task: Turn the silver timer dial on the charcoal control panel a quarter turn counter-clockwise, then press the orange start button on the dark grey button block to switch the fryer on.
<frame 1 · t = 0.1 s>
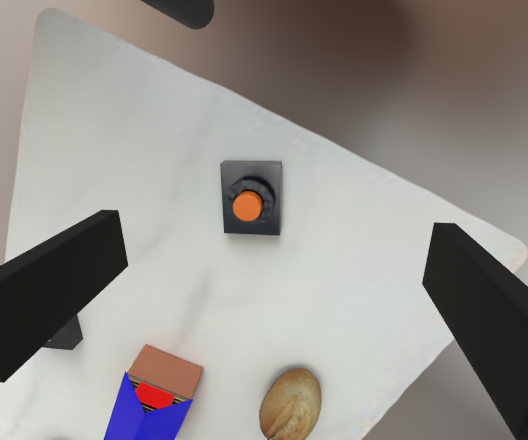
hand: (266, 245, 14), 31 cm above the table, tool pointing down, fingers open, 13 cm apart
timer panel: (56, 310, 58), on the table
bread roll: (289, 391, 58), on the table
house: (161, 389, 63), on the table
start button: (247, 206, 41), point 4 cm above the table, slide at 0.1 cm
button block: (253, 196, 46), on the table
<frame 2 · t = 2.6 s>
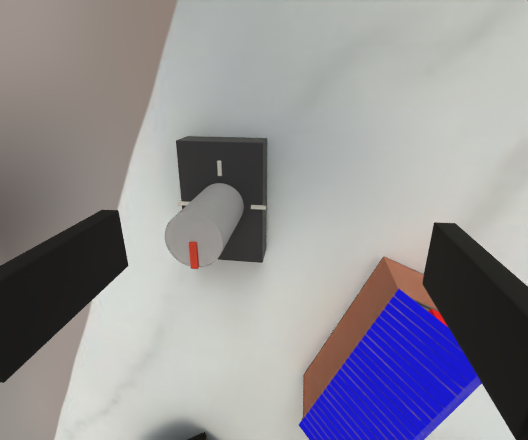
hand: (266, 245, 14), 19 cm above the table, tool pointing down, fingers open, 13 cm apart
timer panel: (228, 195, 34), on the table
house: (382, 339, 38), on the table
timer dial: (208, 221, 27), point 7 cm above the table, hinge at 0.0°
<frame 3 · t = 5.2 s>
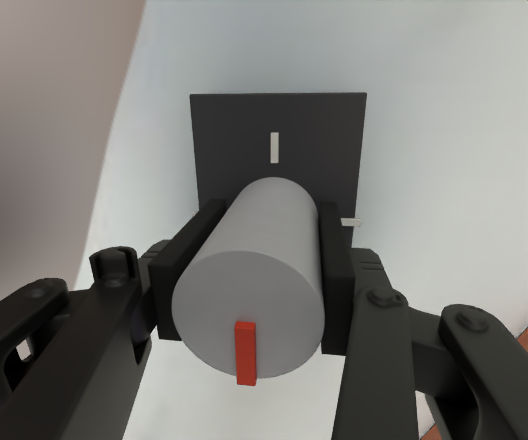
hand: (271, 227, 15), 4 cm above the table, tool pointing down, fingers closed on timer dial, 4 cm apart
timer panel: (279, 201, 19), on the table
house: (524, 430, 23), on the table
timer dial: (263, 256, 13), point 7 cm above the table, hinge at 0.0°, touching gripper
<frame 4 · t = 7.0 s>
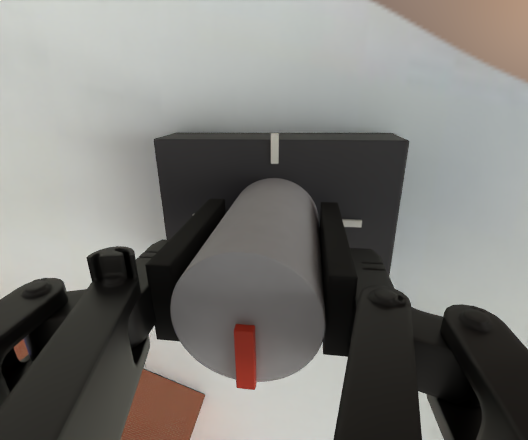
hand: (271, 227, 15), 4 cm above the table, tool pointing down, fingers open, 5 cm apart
timer panel: (279, 201, 19), on the table
house: (84, 391, 28), on the table
timer dial: (263, 258, 12), point 7 cm above the table, hinge at 89.9°
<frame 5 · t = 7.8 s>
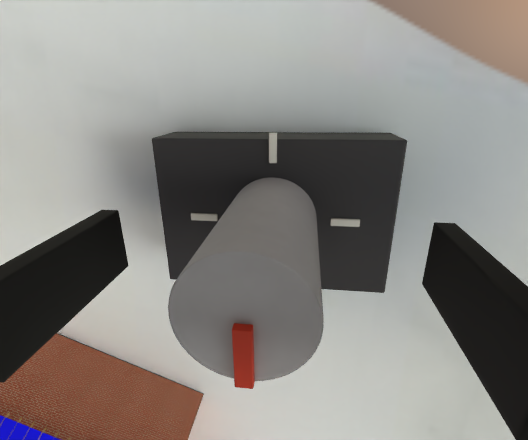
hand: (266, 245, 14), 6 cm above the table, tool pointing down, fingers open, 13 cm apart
timer panel: (278, 201, 19), on the table
house: (82, 391, 28), on the table
timer dial: (261, 257, 12), point 7 cm above the table, hinge at 90.0°
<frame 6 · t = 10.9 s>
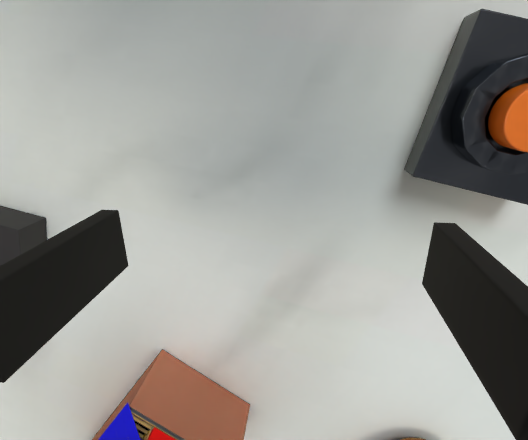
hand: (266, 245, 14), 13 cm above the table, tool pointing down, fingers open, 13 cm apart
timer panel: (10, 261, 32), on the table
house: (166, 421, 38), on the table
button block: (489, 113, 22), on the table
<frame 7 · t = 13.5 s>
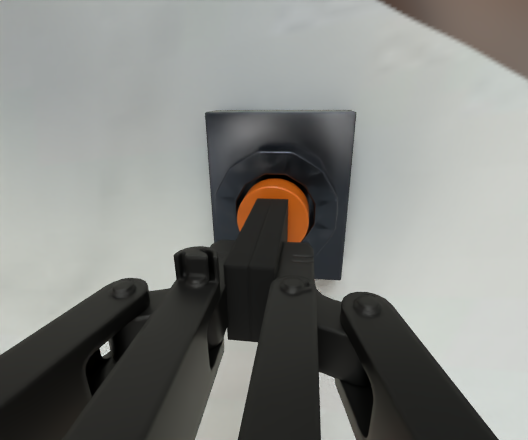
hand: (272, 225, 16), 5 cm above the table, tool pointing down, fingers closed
start button: (274, 215, 17), point 4 cm above the table, slide at 0.0 cm, touching gripper
button block: (280, 191, 21), on the table
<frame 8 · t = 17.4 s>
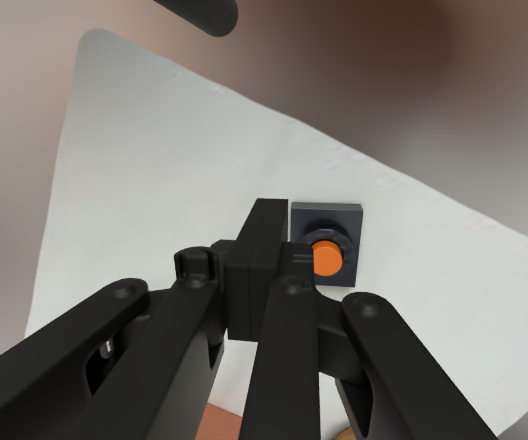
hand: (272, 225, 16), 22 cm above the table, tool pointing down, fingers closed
start button: (325, 258, 36), point 4 cm above the table, slide at 0.1 cm
button block: (323, 241, 40), on the table
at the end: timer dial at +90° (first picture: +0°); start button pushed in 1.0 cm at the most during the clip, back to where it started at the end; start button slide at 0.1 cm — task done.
